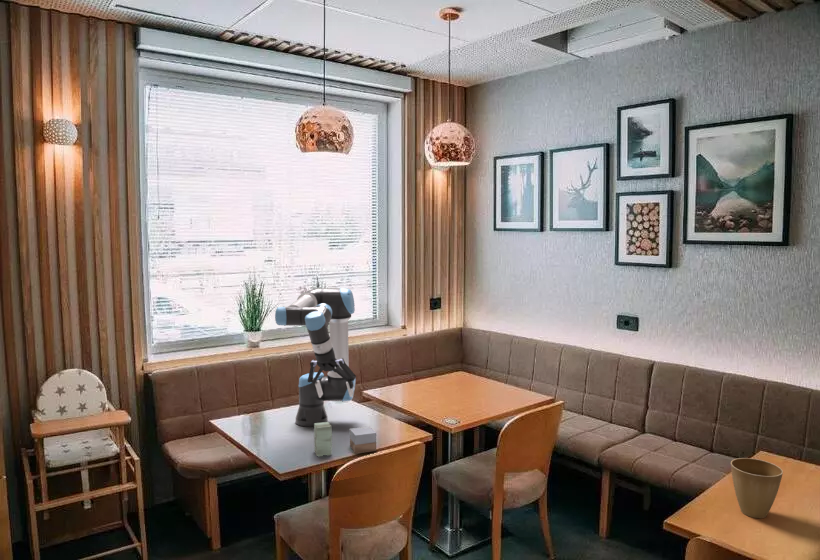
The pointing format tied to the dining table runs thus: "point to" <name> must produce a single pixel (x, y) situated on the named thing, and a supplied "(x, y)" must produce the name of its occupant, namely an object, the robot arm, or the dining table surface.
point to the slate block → (362, 435)
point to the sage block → (322, 438)
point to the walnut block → (363, 447)
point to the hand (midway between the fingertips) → (336, 395)
